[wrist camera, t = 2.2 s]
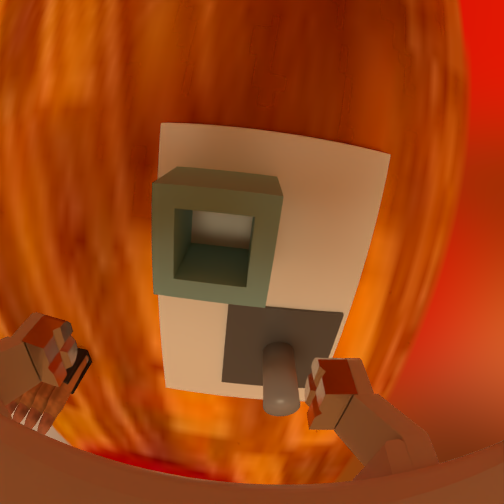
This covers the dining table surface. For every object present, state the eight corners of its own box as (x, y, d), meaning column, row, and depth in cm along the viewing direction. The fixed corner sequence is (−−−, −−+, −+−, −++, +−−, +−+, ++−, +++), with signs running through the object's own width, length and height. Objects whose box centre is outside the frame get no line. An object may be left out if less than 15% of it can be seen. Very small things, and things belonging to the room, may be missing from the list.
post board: (167, 122, 19) (121, 127, 12) (382, 151, 19) (437, 172, 13) (169, 376, 29) (152, 435, 22) (312, 390, 29) (321, 449, 23)
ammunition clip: (87, 349, 28) (41, 436, 17) (92, 362, 29) (50, 447, 18) (20, 335, 28) (-28, 401, 17) (26, 346, 29) (-20, 412, 18)
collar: (177, 166, 19) (152, 183, 14) (277, 176, 19) (283, 196, 14) (174, 256, 21) (153, 294, 17) (263, 266, 22) (265, 307, 17)
